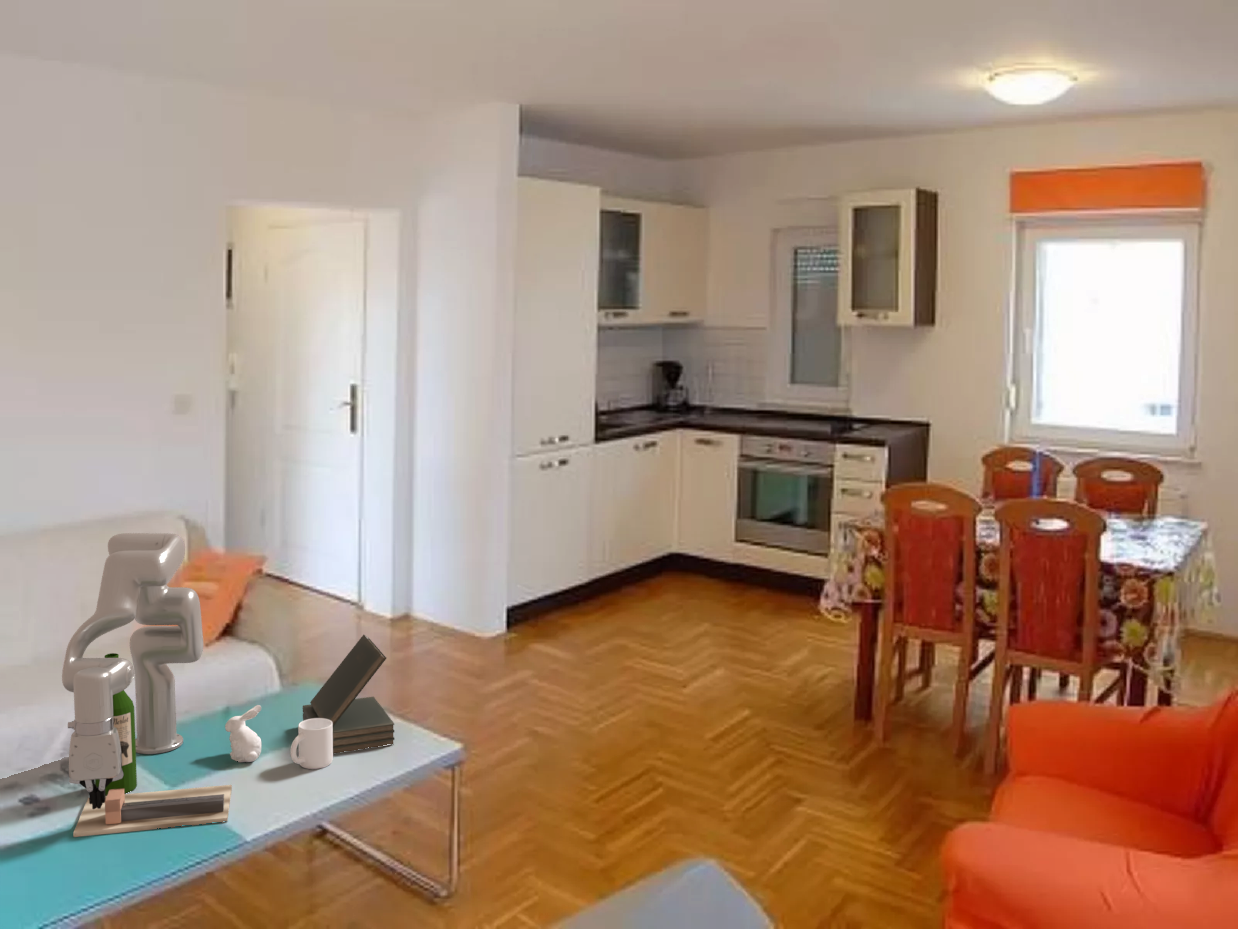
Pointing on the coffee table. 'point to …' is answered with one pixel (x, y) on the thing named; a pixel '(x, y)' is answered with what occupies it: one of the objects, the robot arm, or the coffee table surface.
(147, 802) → the bar
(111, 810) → the brown arch block
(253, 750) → the rabbit
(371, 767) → the coffee table surface
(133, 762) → the wine bottle
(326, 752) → the mug
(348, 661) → the stack of books
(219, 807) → the board
